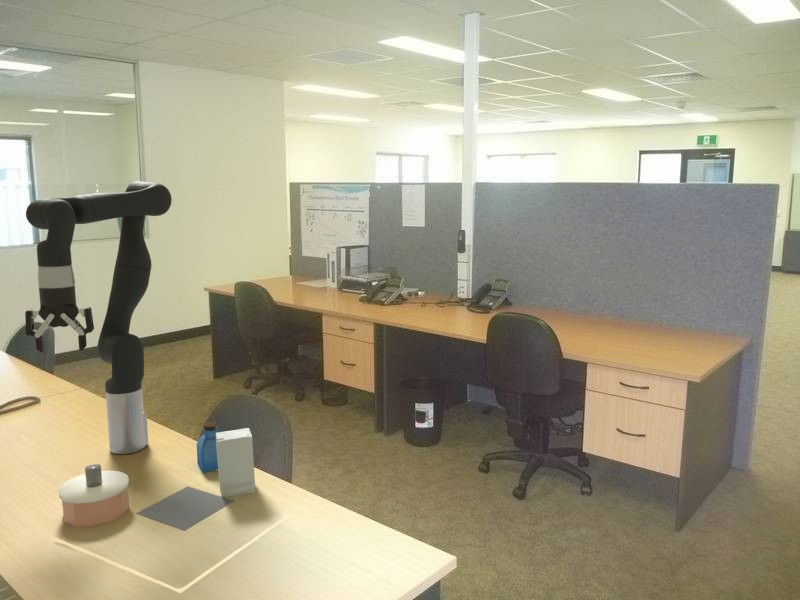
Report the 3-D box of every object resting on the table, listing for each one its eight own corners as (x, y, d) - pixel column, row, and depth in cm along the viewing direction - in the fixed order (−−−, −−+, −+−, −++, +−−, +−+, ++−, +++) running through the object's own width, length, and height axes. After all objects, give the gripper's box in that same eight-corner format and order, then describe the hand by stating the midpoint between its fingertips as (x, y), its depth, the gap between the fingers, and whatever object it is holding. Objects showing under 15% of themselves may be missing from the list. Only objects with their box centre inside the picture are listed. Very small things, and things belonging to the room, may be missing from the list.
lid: (102, 473, 148) (100, 449, 147) (142, 486, 142) (141, 462, 141) (45, 497, 136) (42, 472, 135) (86, 513, 130) (84, 487, 129)
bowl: (103, 494, 149) (101, 471, 148) (141, 507, 142) (139, 483, 141) (51, 519, 137) (48, 493, 136) (89, 534, 131) (87, 507, 130)
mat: (187, 488, 152) (187, 486, 152) (234, 503, 145) (234, 500, 145) (135, 515, 139) (135, 513, 139) (184, 533, 132) (184, 530, 132)
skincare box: (252, 483, 155) (250, 426, 152) (256, 494, 149) (254, 435, 147) (217, 489, 152) (215, 430, 149) (219, 500, 146) (216, 440, 144)
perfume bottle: (201, 475, 159) (199, 430, 158) (197, 465, 165) (195, 422, 163) (226, 470, 162) (224, 426, 160) (221, 461, 168) (219, 418, 166)
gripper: (18, 287, 142) (24, 356, 145) (86, 285, 147) (92, 352, 149) (27, 283, 150) (33, 349, 152) (92, 281, 154) (97, 345, 156)
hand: (62, 351), depth 151 cm, fingers open, 8 cm apart
